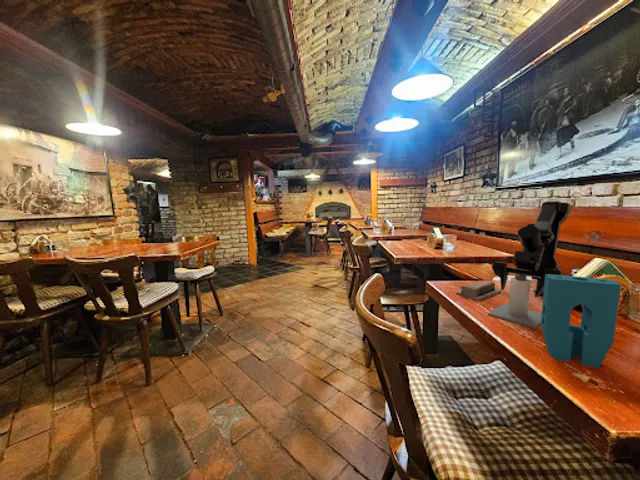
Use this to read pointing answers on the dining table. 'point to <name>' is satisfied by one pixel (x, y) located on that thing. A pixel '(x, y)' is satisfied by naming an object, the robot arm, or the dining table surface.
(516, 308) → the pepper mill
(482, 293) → the packaged product
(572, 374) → the dining table surface
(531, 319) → the felt mat
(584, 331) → the block
